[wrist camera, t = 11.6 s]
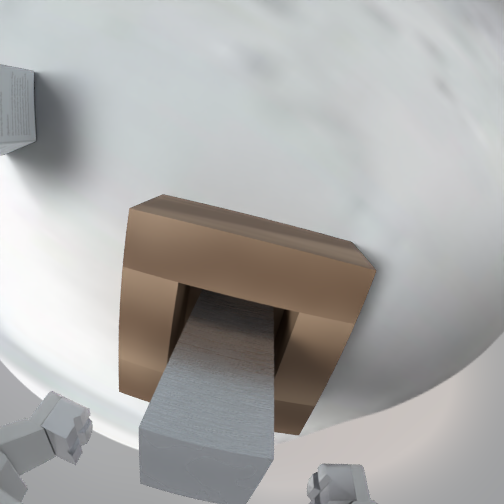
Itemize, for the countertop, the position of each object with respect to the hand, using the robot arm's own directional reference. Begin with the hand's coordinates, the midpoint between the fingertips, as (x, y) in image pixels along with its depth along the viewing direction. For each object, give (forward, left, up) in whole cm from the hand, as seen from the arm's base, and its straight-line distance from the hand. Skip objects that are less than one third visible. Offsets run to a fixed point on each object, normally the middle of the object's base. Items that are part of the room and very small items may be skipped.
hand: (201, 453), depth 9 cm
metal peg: (+1, 0, -11) cm, 11 cm away
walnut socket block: (+1, 0, -12) cm, 12 cm away
